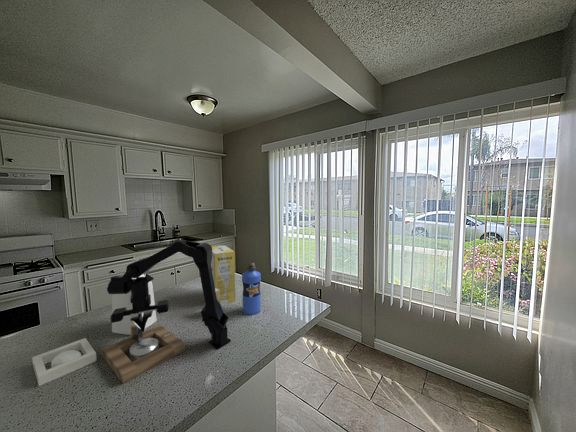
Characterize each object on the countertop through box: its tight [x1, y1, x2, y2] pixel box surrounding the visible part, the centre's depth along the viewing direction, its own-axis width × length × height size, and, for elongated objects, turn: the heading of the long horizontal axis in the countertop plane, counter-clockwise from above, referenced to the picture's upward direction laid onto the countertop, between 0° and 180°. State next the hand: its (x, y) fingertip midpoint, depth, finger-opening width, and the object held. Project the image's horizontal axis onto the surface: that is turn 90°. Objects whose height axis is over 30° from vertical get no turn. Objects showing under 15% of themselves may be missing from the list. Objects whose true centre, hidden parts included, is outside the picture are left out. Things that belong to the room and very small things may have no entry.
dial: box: [129, 325, 160, 362], centre depth 87 cm, size 14×9×7 cm, turn 55°
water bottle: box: [241, 261, 262, 316], centre depth 118 cm, size 9×9×25 cm
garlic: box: [50, 350, 82, 368], centre depth 81 cm, size 8×7×4 cm
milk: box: [111, 270, 158, 336], centre depth 103 cm, size 12×12×26 cm
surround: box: [101, 324, 186, 385], centre depth 86 cm, size 20×20×3 cm
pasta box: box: [211, 245, 236, 306], centre depth 133 cm, size 18×10×28 cm, turn 31°
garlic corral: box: [31, 337, 97, 387], centre depth 81 cm, size 14×14×3 cm
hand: (143, 331), depth 92 cm, fingers closed
